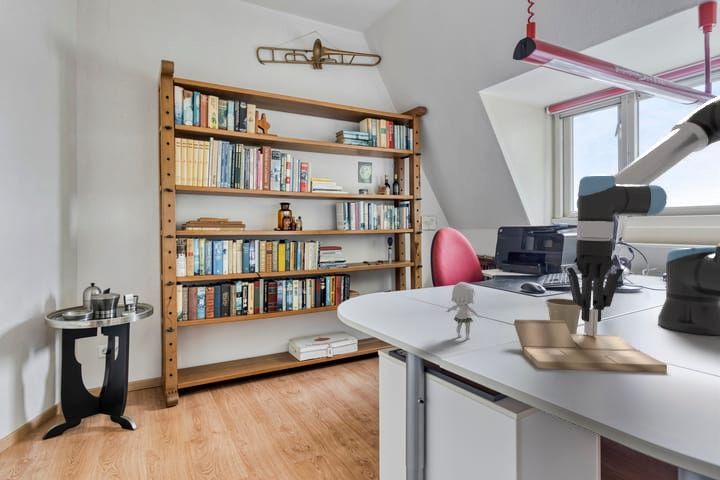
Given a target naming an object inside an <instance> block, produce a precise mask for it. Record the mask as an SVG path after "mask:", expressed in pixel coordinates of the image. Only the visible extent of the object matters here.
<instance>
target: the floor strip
mask: <svg viewBox="0 0 720 480" xmlns="http://www.w3.org/2000/svg"><path fill="white" fill-rule="evenodd" d="M523 355H524V356H525V357H526V358H527V359H528V360H529V361H530V362H532V365H533V364H534V366H535V367H536V368H537V369H548V370H549V369H550V370H552V369H555V370H580V371H581V370H582V371H583V370H584V371H588V370H589V371H618V372H649V373H650V372H653V373H654V372H655V373H656V372H657V373H668V365H667V364H666V363H665V362H663V361H660V360H659V359H656V358H654V357H652V356H651V355H649V354H647V353H645V352H643V351H641V350H640V349H637V350H623V349H582V348H540V347H524V350H523Z"/></svg>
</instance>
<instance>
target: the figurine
mask: <svg viewBox="0 0 720 480" xmlns="http://www.w3.org/2000/svg"><path fill="white" fill-rule="evenodd" d="M474 297H476V292H475V290H474V288H473V286H472V285H471V284H470V283H467V282H466V281H465V282H464V281H459V282H458V283H456V284H455V285H454V286H453V288H452V295H451V301H450V302H453V303H454V305H452V307H449V309H448V310H446V311H445V313H450V312H451V311H455V310H457V309H458V308H459V310H458V312H457V313H456V314H455V315H454V318H453V320H454V321H455V322H457V326H456V333H457V338H458V339H459V338H462V335H461V329H462V327H463V323H464V326H465V330H464V331H465V340H470V339H471V338H470V337H469V336H470V333H471V323H473V322H474V320H473V315H472V314H474V315H475V316H476V317H478V318H479V319H482V317H481V315H479V314H478V313H477V312H476V311H475V310H474V308H472V307H471V306H470V305H471V304H472V305H474V304H475V303H474ZM471 313H472V314H471Z"/></svg>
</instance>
